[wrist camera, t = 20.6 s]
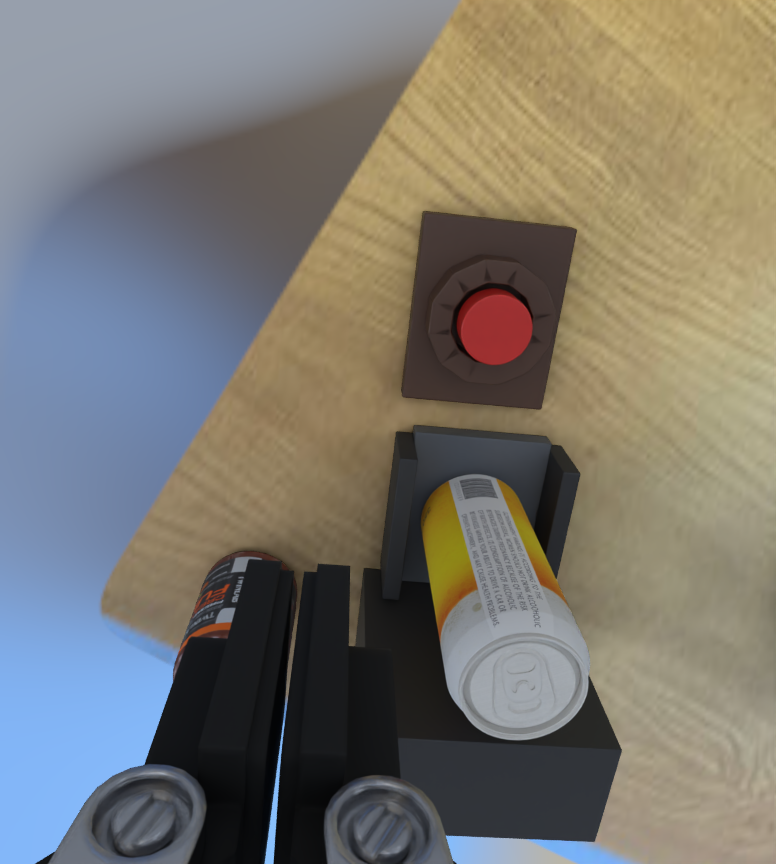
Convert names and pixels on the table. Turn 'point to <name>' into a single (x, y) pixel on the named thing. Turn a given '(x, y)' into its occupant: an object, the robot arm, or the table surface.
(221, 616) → the supplement bottle
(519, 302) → the button
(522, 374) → the button block
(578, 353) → the table surface
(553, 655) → the beer can
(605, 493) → the table surface
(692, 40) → the table surface
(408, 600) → the dark grey cradle
